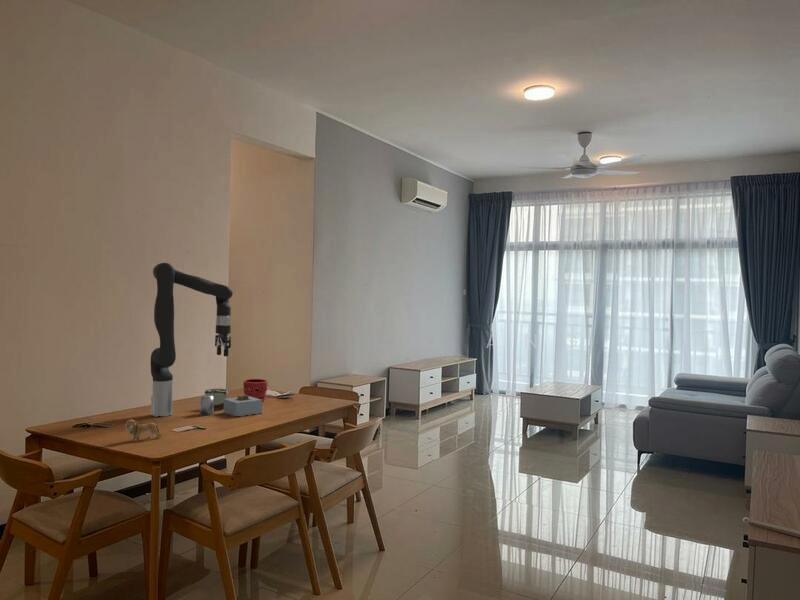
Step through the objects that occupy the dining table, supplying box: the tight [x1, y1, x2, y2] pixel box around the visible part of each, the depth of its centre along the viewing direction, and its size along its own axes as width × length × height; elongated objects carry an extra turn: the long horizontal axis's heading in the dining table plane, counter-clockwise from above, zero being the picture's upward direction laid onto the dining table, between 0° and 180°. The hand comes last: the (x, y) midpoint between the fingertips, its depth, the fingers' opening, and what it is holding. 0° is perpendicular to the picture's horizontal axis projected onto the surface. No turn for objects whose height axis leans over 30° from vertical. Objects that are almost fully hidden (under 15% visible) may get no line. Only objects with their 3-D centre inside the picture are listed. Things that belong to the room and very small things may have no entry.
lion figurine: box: [125, 419, 163, 442], centre depth 248 cm, size 15×5×9 cm, turn 133°
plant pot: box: [243, 378, 268, 402], centre depth 338 cm, size 13×13×12 cm
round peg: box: [199, 394, 215, 416], centre depth 301 cm, size 7×7×9 cm
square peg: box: [237, 394, 249, 401], centre depth 304 cm, size 4×4×9 cm
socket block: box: [223, 396, 263, 418], centre depth 304 cm, size 14×14×7 cm
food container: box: [203, 388, 229, 410], centre depth 317 cm, size 12×6×10 cm, turn 84°
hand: (222, 355), depth 312 cm, fingers open, 8 cm apart
